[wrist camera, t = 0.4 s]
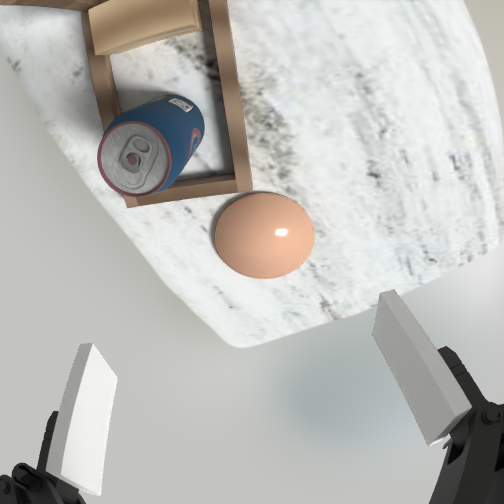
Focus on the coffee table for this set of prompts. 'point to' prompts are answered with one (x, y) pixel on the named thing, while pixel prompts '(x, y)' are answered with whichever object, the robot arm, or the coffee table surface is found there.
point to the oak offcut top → (138, 22)
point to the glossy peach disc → (264, 235)
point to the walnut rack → (231, 96)
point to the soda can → (150, 145)
